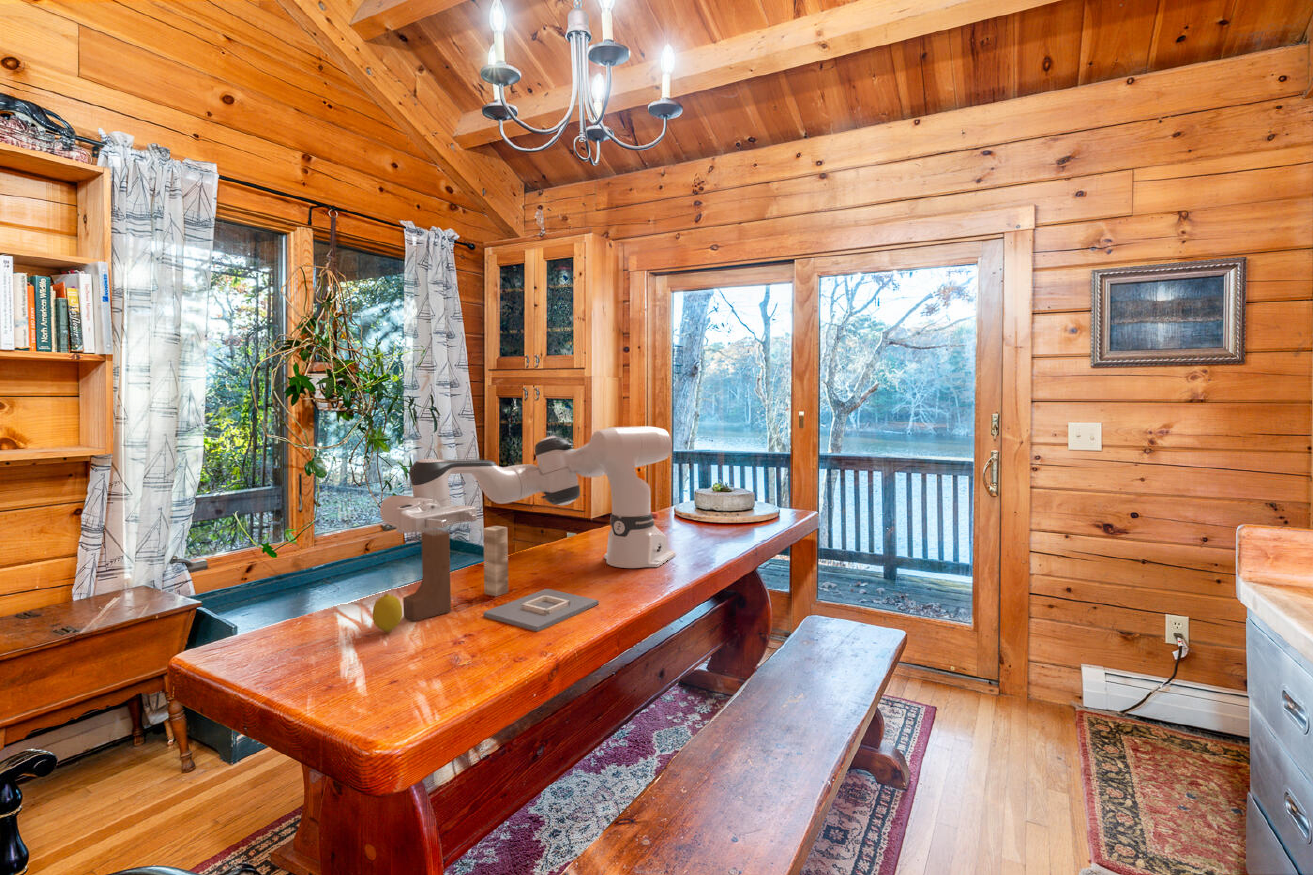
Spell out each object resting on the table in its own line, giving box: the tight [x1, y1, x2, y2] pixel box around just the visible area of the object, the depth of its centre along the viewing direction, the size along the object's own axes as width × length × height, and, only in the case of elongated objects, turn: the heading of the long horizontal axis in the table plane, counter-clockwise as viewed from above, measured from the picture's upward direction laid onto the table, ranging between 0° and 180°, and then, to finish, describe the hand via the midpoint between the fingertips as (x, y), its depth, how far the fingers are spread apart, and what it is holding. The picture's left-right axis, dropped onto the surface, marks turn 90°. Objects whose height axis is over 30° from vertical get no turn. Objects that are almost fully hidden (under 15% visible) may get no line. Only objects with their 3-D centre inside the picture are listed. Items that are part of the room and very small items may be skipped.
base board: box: [482, 588, 600, 633], centre depth 143 cm, size 20×16×2 cm
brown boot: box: [402, 529, 452, 623], centre depth 139 cm, size 9×4×18 cm, turn 137°
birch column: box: [482, 525, 509, 597], centre depth 155 cm, size 4×4×16 cm
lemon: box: [372, 593, 403, 634], centre depth 129 cm, size 6×6×8 cm
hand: (459, 521), depth 160 cm, fingers open, 8 cm apart
